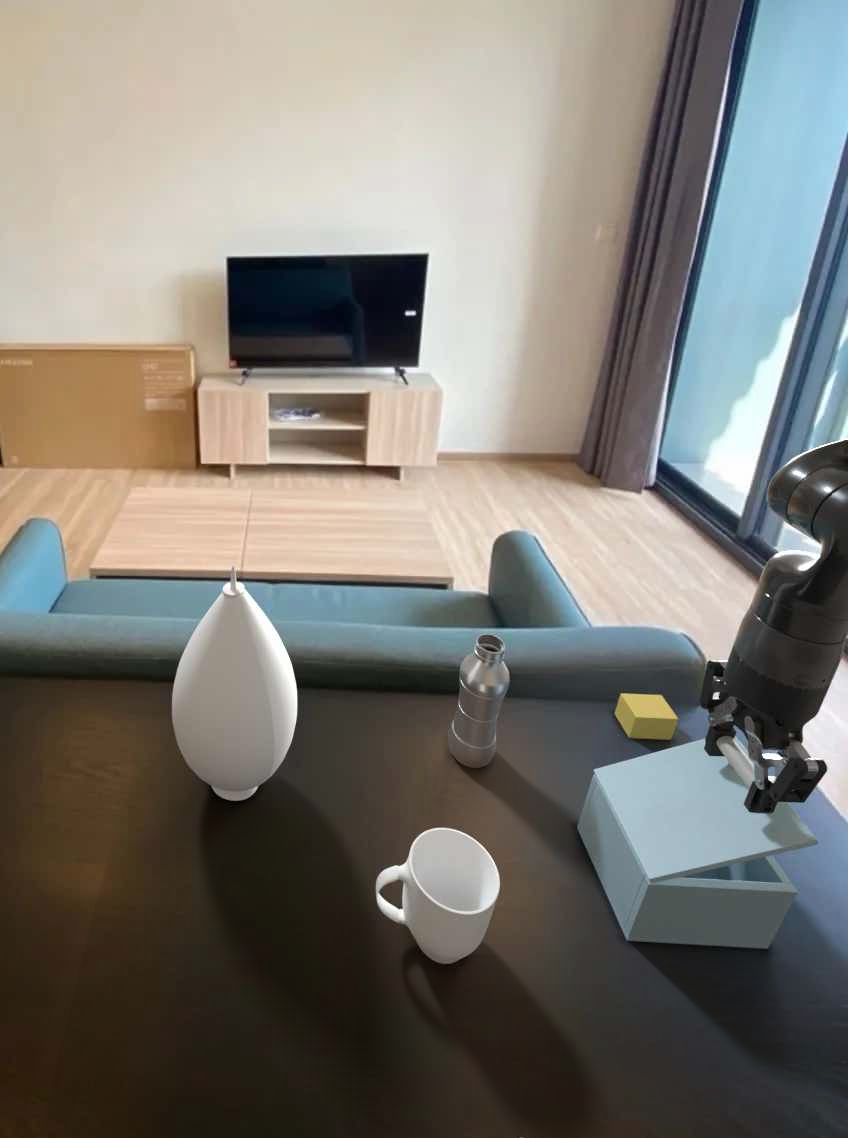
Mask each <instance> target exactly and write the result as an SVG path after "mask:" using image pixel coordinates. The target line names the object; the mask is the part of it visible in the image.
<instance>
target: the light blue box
mask: <svg viewBox="0 0 848 1138" xmlns="http://www.w3.org/2000/svg"><path fill="white" fill-rule="evenodd" d="M577 831H578V833H579V835H580V838H581V840H582V842H583V845H584V847H585V849H586V851H587V853H588V856H589V858H590V861H591V863H592V865H593V867H594V870H595V871H596V874H597V876H598V879H599V881H600V882H601V885H602V887H603V890H604V892H605V895H606V896H607V899H608V901H609V904H610V906H611V908H612V910H613V912H614V915H615V918H616V919H617V921H618V924H619V926H620V929H621V931H622V933H623V935H624V937H625V940H626V941H627V942H643V943H644V942H648V943H663V944H677V945H679V944H680V945H698V946H715V947H730V948H731V947H732V948H746V949H747V948H748V949H766V950H767V949H769V947H770V945H771V944H772V942H773V940H774V938H775V936H776V934H777V933H778V931H779V929H780V927H781V925H782V924H783V922H784V920H785V918H786V916H787V914H788V912H789V910H790V909H791V906H792V905H793V903H794V901H795V899H796V898H797V896H798V894H799V891H798V889H796V887H795V886H794V885H793V883H792V881H791V880H790V879H789V877H788V876H787V875H786V873H785V871H783V869H782V867H781V866H780V865H779V863H778V861H777V860H776V859H775V857H774V855H771V856H766V857H762V858H758V859H754V860H749V861H745V862H741V863H737V864H733V865H728V866H724V867H720V868H716V869H711V870H707V871H703V872H699V873H694V874H690V875H686V876H682V877H677V878H673V879H669V880H665V881H660V882H656V883H652V884H651V883H650V881H649V879H648V877H647V875H646V873H645V871H644V869H643V867H642V865H641V863H640V861H639V859H638V857H637V855H636V854H635V852H634V850H633V848H632V846H631V844H630V842H629V840H628V838H627V836H626V834H625V832H624V830H623V828H622V826H621V824H620V822H619V820H618V818H617V816H616V814H615V812H614V810H613V808H612V806H611V804H610V802H609V800H608V798H607V796H606V794H605V793H604V791H603V789H602V787H601V785H600V783H599V781H598V779H597V777H596V775H595V774H593V775H592V778H591V781H590V784H589V787H588V791H587V795H586V797H585V801H584V803H583V807H582V811H581V813H580V817H579V820H578V823H577Z"/></svg>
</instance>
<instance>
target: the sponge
mask: <svg viewBox="0 0 848 1138" xmlns="http://www.w3.org/2000/svg"><path fill="white" fill-rule="evenodd" d="M614 715H615V717H616V719H617V720H618V722H619V724H620V725H621V727H622V728H623V730H624V732H625V734H626V736H627V737H628V738H629V739H646V740H668V741H671V740H672V739H673V736H674V733H675V731H676V727H677V724H678V722H679V718H678V716H677V715H676V713H675V712H674V711H673V709H672V708H671V706H670V705H669V703H668V702H667V701H666V699H665V698H664V696H663V695H662V694H646V693H645V694H642V693H620V694H619V697H618V701H617V704H616V707H615V710H614Z"/></svg>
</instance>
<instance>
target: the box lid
mask: <svg viewBox="0 0 848 1138" xmlns="http://www.w3.org/2000/svg"><path fill="white" fill-rule="evenodd" d="M705 744H706V743H705V738H702V739H699V740H695V741H691V742H687V743H684V744H680V745H677V746H673V747H670V748H666V749H662V750H659V751H655V752H652V753H648V754H644V755H640V756H638V757H634V758H630V759H626V760H622V761H619V762H616V763H612V764H609V765H605V766H602V767H598V768H594V769H593V772H594V775H596V777H597V779H598V781H599V783H600V785H601V787H602V789H603V791H604V793H605V794H606V796H607V798H608V800H609V802H610V804H611V806H612V808H613V810H614V812H615V814H616V816H617V818H618V820H619V822H620V824H621V826H622V828H623V830H624V832H625V834H626V836H627V838H628V840H629V842H630V844H631V846H632V848H633V850H634V852H635V854H636V855H637V857H638V859H639V861H640V863H641V865H642V867H643V869H644V871H645V873H646V875H647V877H648V879H649V881H650V883H651V884H652V883H656V882H660V881H665V880H669V879H673V878H677V877H682V876H686V875H690V874H694V873H699V872H703V871H707V870H711V869H716V868H720V867H724V866H728V865H733V864H737V863H741V862H745V861H749V860H754V859H758V858H762V857H766V856H771V855H772V856H775V855H780V854H783V853H787V852H793V851H795V850H800V849H804V848H809V847H813V846H818V845H819V841H818V839H817V837H816V836H815V834H813V832H812V831H811V830H810V829H809V827H808V826H807V825H806V823H805V822H804V820H802V818H801V817H800V816H799V814H798V813H797V812H796V811H795V809H794V808H793V807H792V806H791V804H790V802H778V803H777V805H776V808H775V810H774V812H773V813H771V814H764V813H751V812H749V811H748V810H747V808H746V807H745V806H744V801H745V799H746V796H747V794H748V792H749V789H750V787H751V784H752V782H753V781H755V773H754V763H753V762H752V761H751V760H750V759H749V754H748V749H747V748H746V747H745V746H744V744H743V743H742V742H741V741H740V739H739V738H738V737H737V736H736V735H735V738H734V739H733V738H732V737H730V736H723V737H721V738H719V739H718V740H717V742H716V745H717V746H718V748H719V749H720V750H721V752H722V753H723V754H724V756H709V755H708V754H707V753H706V751H705V750H704V747H705Z"/></svg>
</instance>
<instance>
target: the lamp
mask: <svg viewBox="0 0 848 1138" xmlns="http://www.w3.org/2000/svg"><path fill="white" fill-rule="evenodd" d="M221 591H222V592H221V593H220V594H219V595H218V597H217V598H216V600H215V601H214V602H213V604H212V605H211V606H210V608H209V609H208V610H207V611H206V613H205V614H204V616H203V617H202V619H201V620H200V621H199V623H198V625H197V626H196V628H195V630H194V631H193V632H192V635H191V636H190V638H189V640H188V642H187V645H186V646H185V648H184V651H183V652H182V655H181V657H180V660H179V663H178V666H177V668H176V673H175V678H174V683H173V687H172V695H171V720H172V721H171V722H172V727H173V731H174V736H175V740H176V744H177V746H178V749H179V752H180V753H181V755H182V757H183V759H184V761H185V762H186V764H187V766H188V767H189V769H191V771H192V772H193V773H194V774H195V775H196V776H197V777H198V778H199V779H200V780H202V781H203V782H205V783H206V784H208V785H209V786H211V789H212V790H213V792H214V793H215V794H216V795H217V796H218V797H220V798H222V799H225V800H228V801H234V802H236V801H244V800H247V799H248V798H251V797H252V796H253V795H254V794H255V793H256V791H257V790H258V788H259V786H260V785H262V784H264V783H265V782H266V781H268V779H270V778H271V777H272V776H273V775H274V774H275V773H276V771H277V770H278V769H279V767H280V766H281V764H282V763H283V762H284V759H285V758H286V756H287V753H288V751H289V749H290V746H291V744H292V741H293V738H294V733H295V728H296V723H297V718H298V688H297V681H296V678H295V677H296V676H295V672H294V668H293V664H292V661H291V659H290V656H289V654H288V651H287V649H286V646H285V645H284V643H283V641H282V639H281V637H280V635H279V633H278V632H277V630H276V628H275V626H274V625H273V623H272V622H271V621H270V620H269V618H268V616H267V615H266V614H265V612H264V610H262V608H261V607H260V606H259V604H258V603H257V602H256V601H255V600H254V598H253V596H251V594H249V592H248V591H247V590H246V589H245V585H244V583H242V582H240V581H237V575H236V567H235V565H234V564H233V565H232V566H231V571H230V581H229V582H226V583H225V584H224V585H223V586H222V590H221Z"/></svg>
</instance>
